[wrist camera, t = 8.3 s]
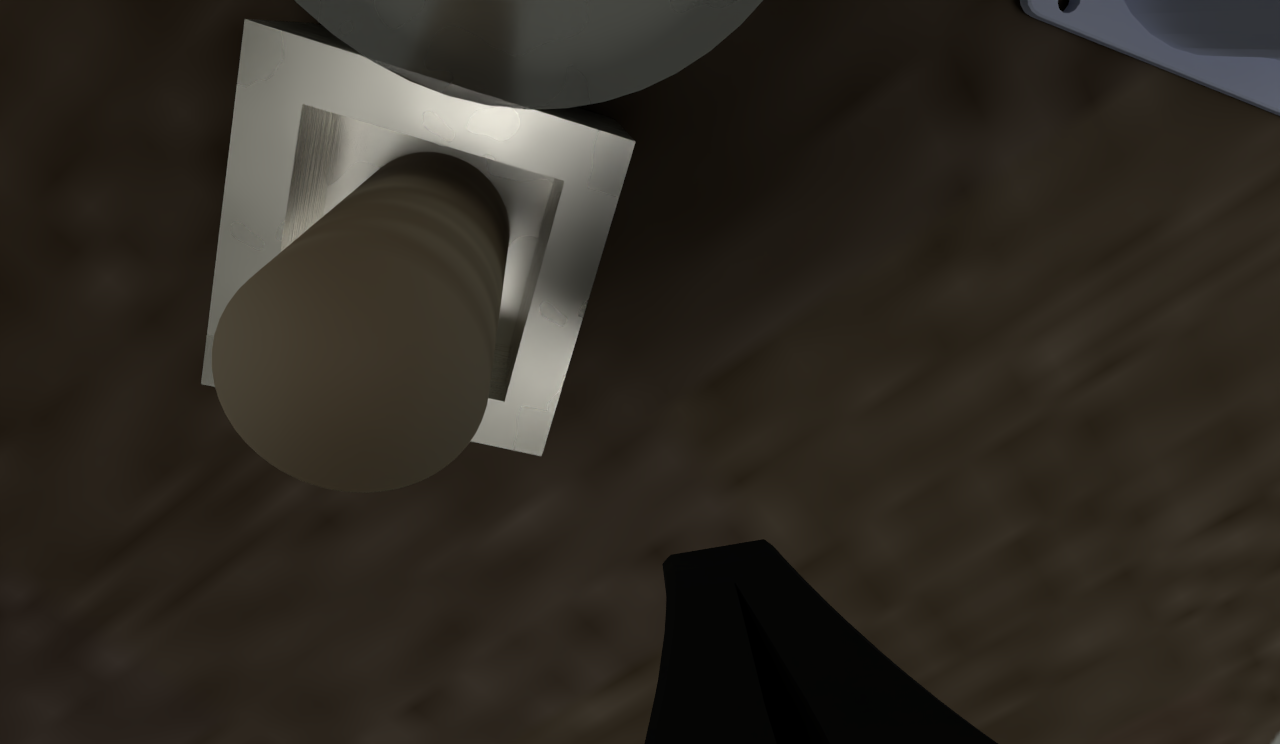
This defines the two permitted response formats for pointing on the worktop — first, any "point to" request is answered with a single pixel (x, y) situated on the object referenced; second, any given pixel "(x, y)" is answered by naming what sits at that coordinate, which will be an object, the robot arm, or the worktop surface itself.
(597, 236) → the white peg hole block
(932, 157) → the worktop surface
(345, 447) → the key peg
